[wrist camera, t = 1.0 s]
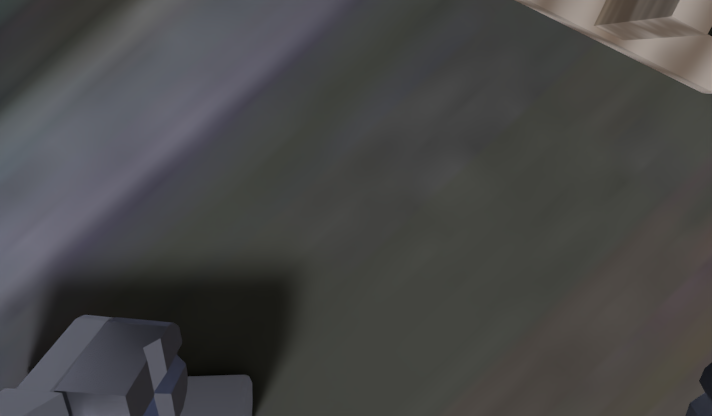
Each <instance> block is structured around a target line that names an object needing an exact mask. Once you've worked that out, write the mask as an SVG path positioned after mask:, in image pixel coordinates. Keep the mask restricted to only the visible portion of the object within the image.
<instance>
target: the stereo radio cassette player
mask: <svg viewBox="0 0 712 416" xmlns="http://www.w3.org/2000/svg"><path fill="white" fill-rule="evenodd" d="M18 386H19V385H18ZM18 386H17V387H18ZM17 387H16V388H17ZM16 388H15V389H16ZM252 404H253V395H252V381H251V379H250V377H249V376H248V375H216V376H188V386H187V394H186V398H185V402H184V407H183V410H182V412H181V414H180V416H252Z"/></svg>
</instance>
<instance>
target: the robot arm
mask: <svg viewBox="0 0 712 416" xmlns="http://www.w3.org/2000/svg"><path fill="white" fill-rule="evenodd" d="M181 344H182V338H181V333H180V328H179V326H178V325H176V324H175V323H172V322H162V321H151V320H141V319H131V318H120V317H114V318H112V317H104V316H93V315H83V316H81V317H78V318H76V319H75V320H74V321H73V322H72V324H71V325H70V326H69V327H68V328H67V329H66V331H65V332H64V333H63V334H62V335H61V336H60V338H59V339H58V340H57V341H56V342H55V344H54V345H53V346H52V347H51V348H50V349H49V351H48V352H47V353H46V354H45V355H44V356H43V358H42V359H41V360H40V361H39V362H38V364H37V365H36V366H35V367H34V368H33V369H32V371H31V372H30V373H29V374H28V375H27V376H26V378H25V379H24V380H23V381H22V382H21V384H20V385H19V386H18V387H17V388H16V389H9V388H5V389H4V390H2V391H0V416H180V414H181V412H182V410H183V407H184V402H185V398H186V394H187V386H188V374H187V367H186V363H185V362H184V361H183V360H182V359H181V358H180V357H179V356H178V355H177V352H178V350H179V348H180V346H181ZM699 382H700V384H701V386H702V388H703V389H704V391H705V393H704V394H702V395H701V396H699V397H698V398H697V399H695V400H694V401H692V402H691V403H690V404H689V407H688V410H687V413H686V416H712V363H710V364H709V365H708V366H707V367H706V368H705V369H704V371H703V373H702V376H701V378H700V380H699Z"/></svg>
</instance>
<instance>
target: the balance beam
mask: <svg viewBox="0 0 712 416" xmlns="http://www.w3.org/2000/svg"><path fill="white" fill-rule="evenodd" d="M516 1H518V2H520V3H522V4H524V5H526V6H528V7H530V8H532V9H534V10H536V11H538V12H540V13H542V14H544V15H546V16H548V17H550V18H552V19H554V20H556V21H558V22H560V23H562V24H564V25H566V26H568V27H570V28H572V29H574V30H576V31H578V32H580V33H582V34H584V35H586V36H588V37H590V38H593V39H595V40H597V41H599V42H601V43H603V44H605V45H607V46H609V47H611V48H613V49H615V50H617V51H619V52H621V53H623V54H625V55H627V56H629V57H631V58H633V59H635V60H637V61H639V62H641V63H643V64H645V65H647V66H649V67H651V68H653V69H655V70H657V71H659V72H661V73H663V74H665V75H667V76H669V77H671V78H673V79H675V80H677V81H679V82H681V83H683V84H685V85H687V86H689V87H691V88H693V89H695V90H697V91H700V92H702V93H706V94H712V36H710V35H708V32H709V31H710V29H711V27H712V0H516Z"/></svg>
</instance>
